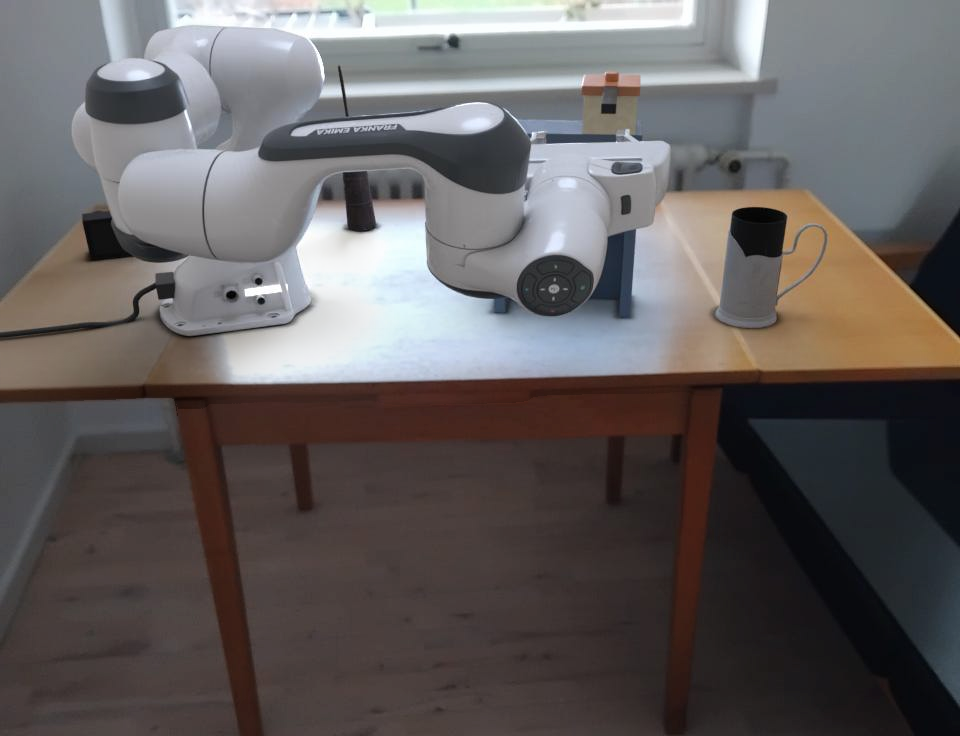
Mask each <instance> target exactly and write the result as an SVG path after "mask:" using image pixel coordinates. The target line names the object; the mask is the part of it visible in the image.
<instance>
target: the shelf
mask: <svg viewBox="0 0 960 736" xmlns="http://www.w3.org/2000/svg"><path fill="white" fill-rule="evenodd" d="M515 119H516V120H517V121H518V122H519V124H520V125H521V126H522V127H523V129H524V130H525V132H526V133H527V135H528V136H529V138H532V134H533V132H546V139H547V144H567V143H601V142H616V135H605V134H582V127H583V119H582V120H577V119H574V120H572V119H569V120H568V119H521V118H520V119H517V118H515ZM643 127H644V126H643V121H642V120H639V121H638V120H636V128H635V135H631V136H632V137H633V138H635V139H636V140H638V141H643V138H644V137H643V135H644V134H643ZM636 238H637V229H634V230H629V231H625V232H621V233H618V234H614V235H611V236H609V237H607V250H606V256H605V261H604V266H603V270H602V273H601V276H600V279H599V281H598V284H597V286H596V288H595V289H594V291H593V293H592V294H591V296H590V297H589V298H588V299H607V300H609V299H610V300H619V310H618V311H619V312H618V318H628V319H630V318H631V310H632V298H633V297H632V296H633V282H634V265H635V253H636V252H635V251H636ZM509 300H510V297H509V298H501V299H493V303H494V304H493V305H494V308H493V309H494V311H493V313H498V314H499V313H500V314H501V313H503V314H505V313H506V310H507V307H508V304H509Z"/></svg>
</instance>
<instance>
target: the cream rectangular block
mask: <svg viewBox="0 0 960 736" xmlns="http://www.w3.org/2000/svg"><path fill="white" fill-rule="evenodd" d="M602 97H603V96H595V95H583V101H582V102H583V104H582V105H583V106H582V120H583V127H582V134H605V135H616V133H617V130H618V129H630V135H635V128H636V121H637V111H638V97H639V96H617V106H616V114H601V104H602Z"/></svg>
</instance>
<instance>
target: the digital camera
mask: <svg viewBox="0 0 960 736" xmlns="http://www.w3.org/2000/svg"><path fill="white" fill-rule="evenodd" d="M81 221H82V226H83V227H82V228H83V232H84V235H85V236H84V237H85V240H86V245H87V249H88V253H89V258H90V261H98V260H99V261H100V260H108V259H116V258H125V257H134V256H133V255H131V254H129V253H128V252H126V251H125V250H124V249H123V248H122V247H121V245H120V243H119V241H118V240H117V238H116V235H115V233H114V231H113V228H112V225H111V221H112V217H111V214H110V211H109V210H106V211H104V210H95V211H93V212H86V213H82V214H81Z"/></svg>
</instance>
